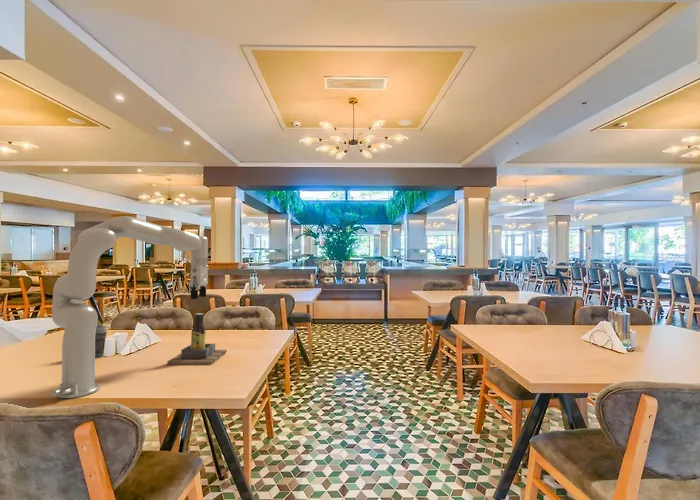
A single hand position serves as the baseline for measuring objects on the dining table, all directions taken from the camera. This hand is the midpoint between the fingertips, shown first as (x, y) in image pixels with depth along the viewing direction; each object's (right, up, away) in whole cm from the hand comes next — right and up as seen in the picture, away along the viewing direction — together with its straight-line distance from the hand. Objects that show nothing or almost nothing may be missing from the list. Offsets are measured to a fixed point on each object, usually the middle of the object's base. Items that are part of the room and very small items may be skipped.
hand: (198, 297), depth 172 cm
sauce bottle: (0, -28, -1) cm, 28 cm away
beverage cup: (-50, -29, +2) cm, 58 cm away
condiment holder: (0, -29, 0) cm, 29 cm away
